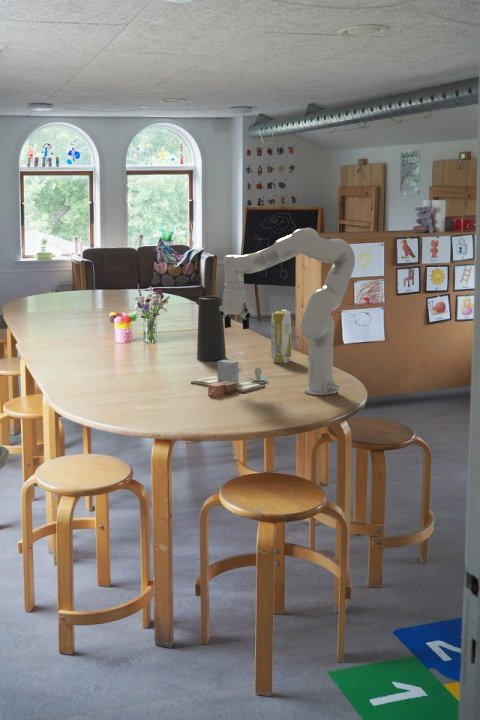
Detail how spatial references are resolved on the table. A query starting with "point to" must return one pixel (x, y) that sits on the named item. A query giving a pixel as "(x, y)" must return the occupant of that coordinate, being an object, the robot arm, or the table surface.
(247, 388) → the board
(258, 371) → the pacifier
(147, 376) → the table surface
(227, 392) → the stand
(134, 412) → the table surface
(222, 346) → the dark tapered cylinder
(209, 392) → the die
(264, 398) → the table surface
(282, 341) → the juice carton
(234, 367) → the medicine box
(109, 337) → the table surface
